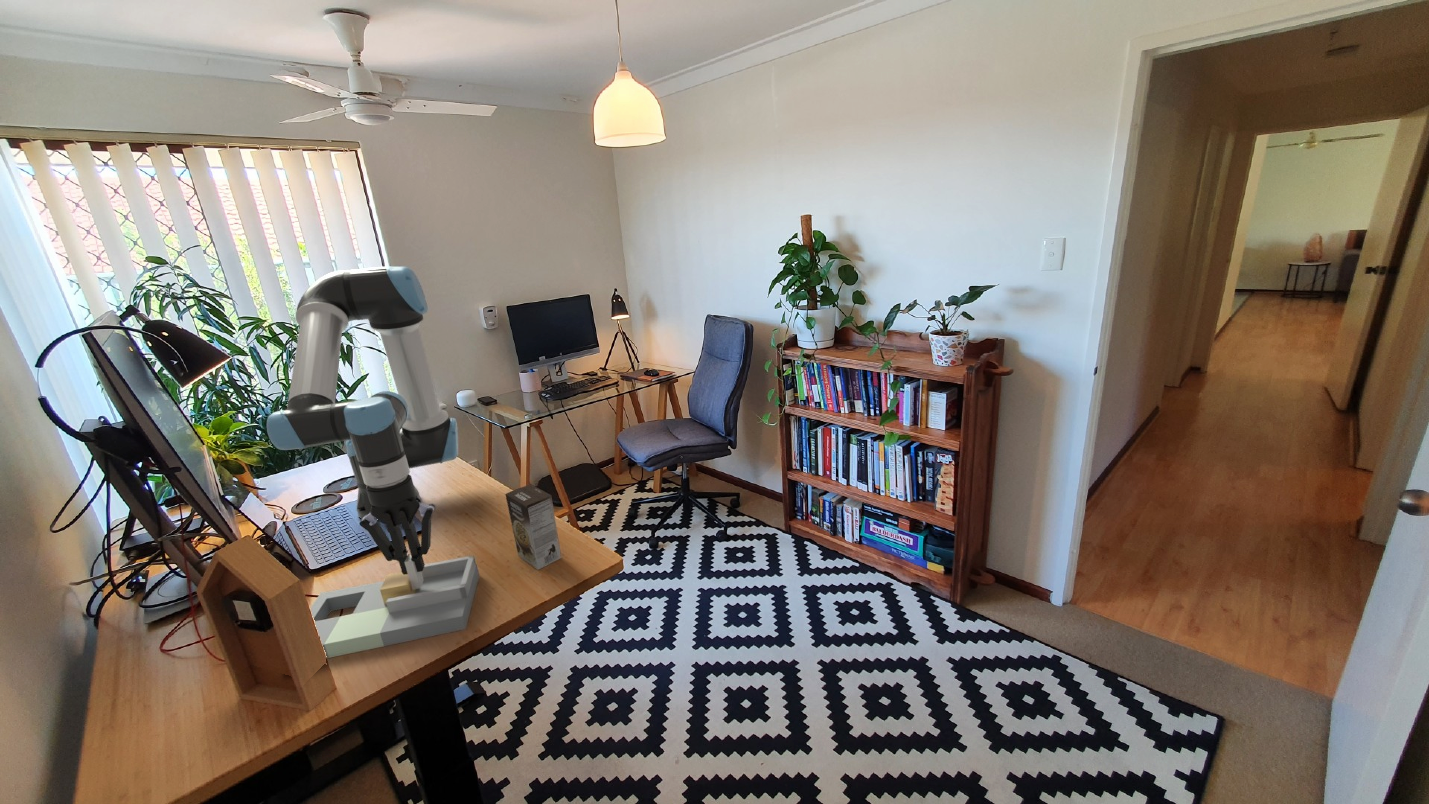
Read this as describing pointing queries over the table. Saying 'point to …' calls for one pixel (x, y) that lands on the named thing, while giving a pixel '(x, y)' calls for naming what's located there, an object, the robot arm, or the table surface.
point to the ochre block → (396, 586)
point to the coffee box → (534, 525)
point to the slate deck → (398, 610)
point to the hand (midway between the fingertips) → (418, 584)
